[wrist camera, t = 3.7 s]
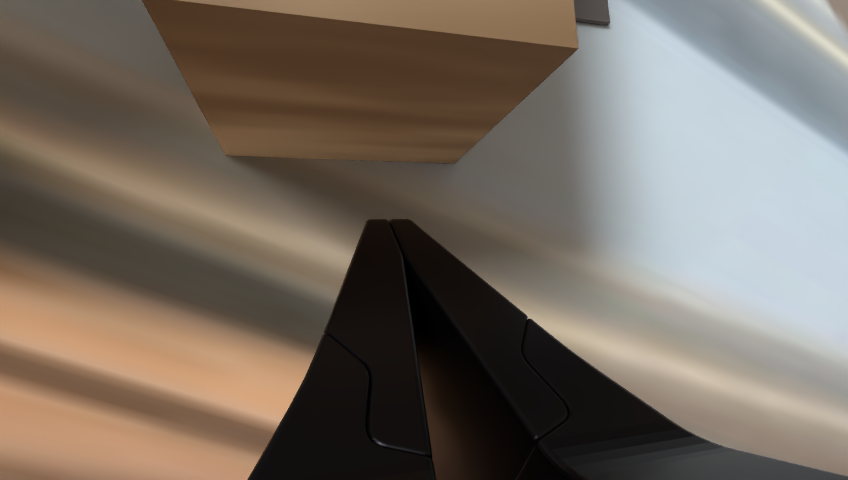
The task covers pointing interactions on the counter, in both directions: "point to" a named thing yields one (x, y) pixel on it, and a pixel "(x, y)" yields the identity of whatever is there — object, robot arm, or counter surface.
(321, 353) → the robot arm
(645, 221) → the counter surface
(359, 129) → the oak block
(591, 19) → the plate
